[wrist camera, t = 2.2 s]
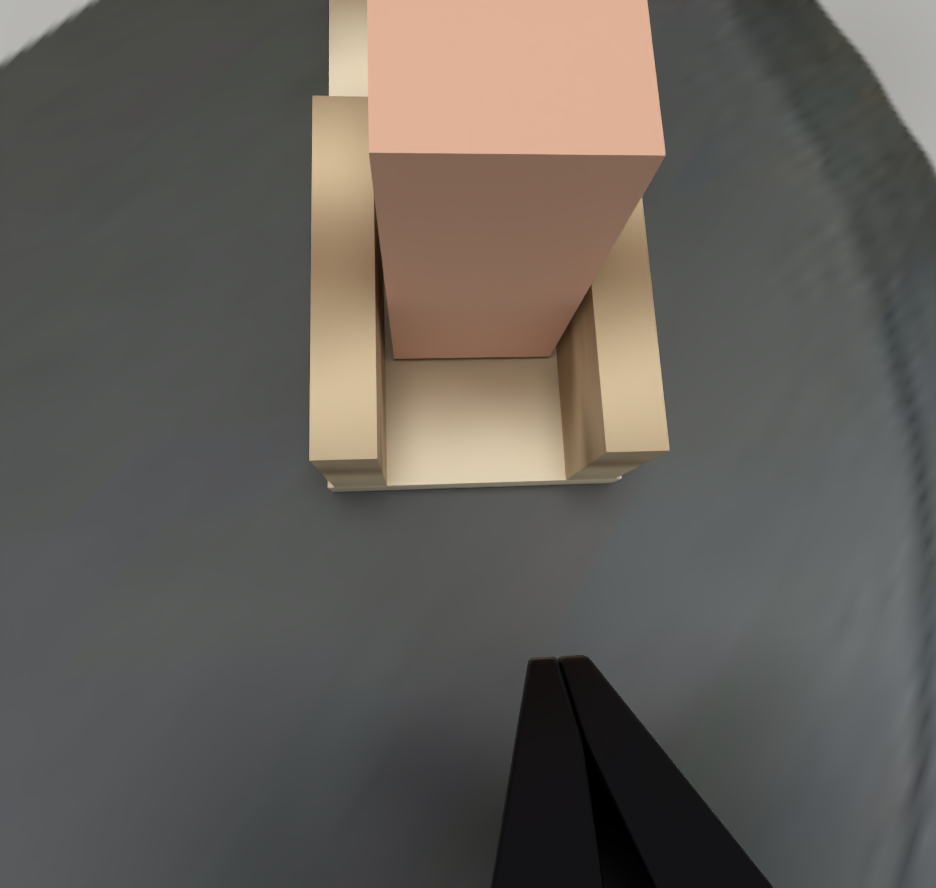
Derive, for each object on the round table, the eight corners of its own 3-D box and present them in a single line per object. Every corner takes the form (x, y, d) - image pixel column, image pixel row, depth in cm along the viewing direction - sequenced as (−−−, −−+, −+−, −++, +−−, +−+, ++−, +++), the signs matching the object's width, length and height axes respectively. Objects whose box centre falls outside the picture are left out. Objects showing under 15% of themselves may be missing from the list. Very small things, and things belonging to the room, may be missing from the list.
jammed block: (549, 356, 21) (665, 155, 11) (394, 358, 20) (368, 152, 10) (537, 189, 22) (632, -126, 12) (390, 189, 21) (365, -138, 12)
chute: (612, 483, 21) (677, 450, 16) (332, 491, 20) (300, 460, 15) (569, 5, 25) (610, -152, 20) (333, -2, 24) (308, -166, 19)
